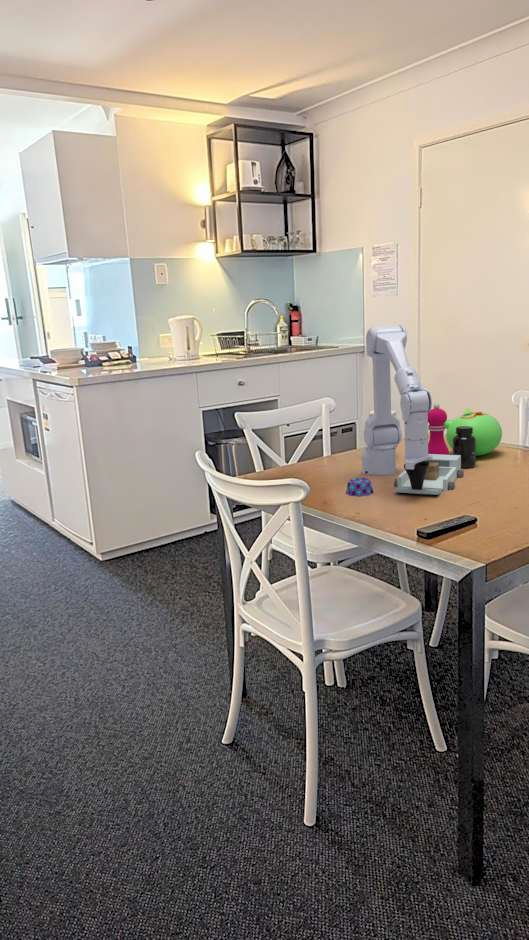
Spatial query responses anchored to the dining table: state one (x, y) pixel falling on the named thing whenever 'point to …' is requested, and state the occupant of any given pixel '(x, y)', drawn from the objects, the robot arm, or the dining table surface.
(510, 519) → the dining table surface
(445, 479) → the ute bed
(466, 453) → the supplement bottle
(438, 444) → the pepper mill
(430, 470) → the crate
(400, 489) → the panel
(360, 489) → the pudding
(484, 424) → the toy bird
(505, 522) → the dining table surface
